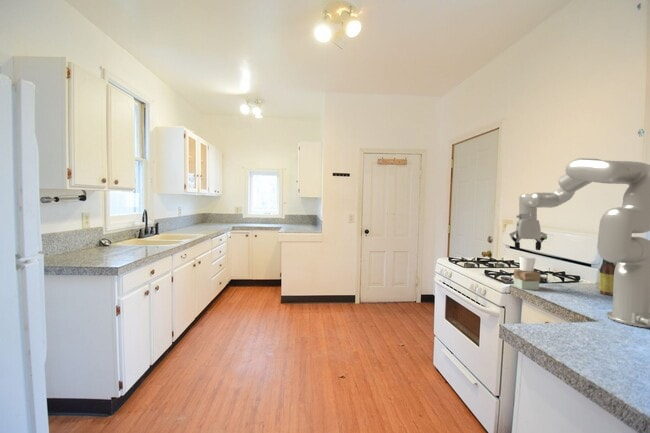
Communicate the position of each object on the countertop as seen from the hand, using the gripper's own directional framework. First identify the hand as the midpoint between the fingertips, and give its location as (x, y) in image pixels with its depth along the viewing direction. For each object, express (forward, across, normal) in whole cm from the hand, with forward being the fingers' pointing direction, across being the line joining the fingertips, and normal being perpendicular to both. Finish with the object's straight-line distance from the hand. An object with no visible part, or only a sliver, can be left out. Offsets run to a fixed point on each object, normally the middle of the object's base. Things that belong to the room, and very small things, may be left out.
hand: (527, 249), depth 146 cm
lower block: (+20, 0, +1) cm, 20 cm away
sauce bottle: (+21, +34, -4) cm, 40 cm away
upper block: (+16, 0, 0) cm, 16 cm away
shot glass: (+11, 0, 0) cm, 11 cm away
